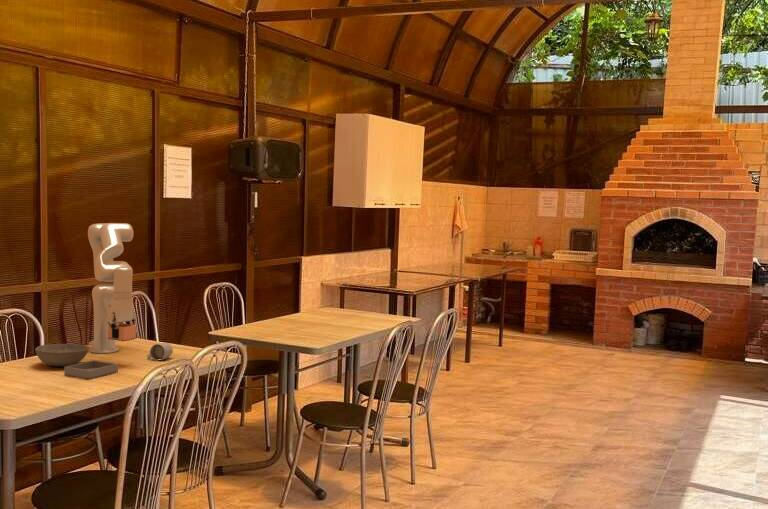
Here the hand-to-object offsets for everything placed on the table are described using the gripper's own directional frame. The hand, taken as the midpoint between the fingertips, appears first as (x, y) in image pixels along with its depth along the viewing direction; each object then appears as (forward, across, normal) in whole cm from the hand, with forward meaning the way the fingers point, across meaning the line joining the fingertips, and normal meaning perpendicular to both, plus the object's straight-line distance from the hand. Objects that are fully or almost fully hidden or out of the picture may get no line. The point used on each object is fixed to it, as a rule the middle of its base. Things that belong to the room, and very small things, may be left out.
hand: (121, 336), depth 321 cm
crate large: (+13, +18, +1) cm, 22 cm away
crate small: (+1, 0, 0) cm, 1 cm away
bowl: (+14, +13, -21) cm, 28 cm away
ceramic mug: (+14, -19, +4) cm, 24 cm away
